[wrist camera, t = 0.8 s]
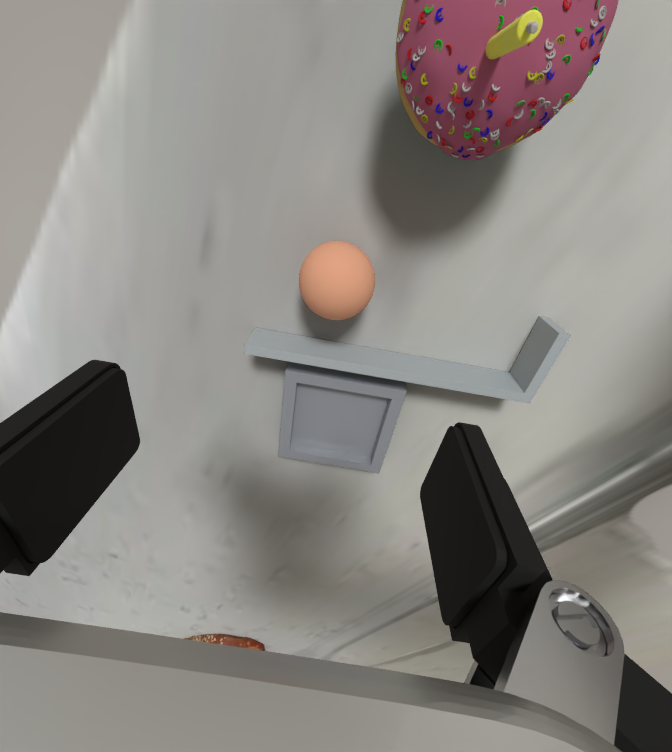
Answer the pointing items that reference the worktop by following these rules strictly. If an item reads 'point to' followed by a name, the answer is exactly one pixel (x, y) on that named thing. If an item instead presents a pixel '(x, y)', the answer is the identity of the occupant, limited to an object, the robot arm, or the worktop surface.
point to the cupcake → (494, 66)
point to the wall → (422, 362)
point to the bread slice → (229, 641)
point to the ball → (336, 280)
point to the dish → (338, 416)
